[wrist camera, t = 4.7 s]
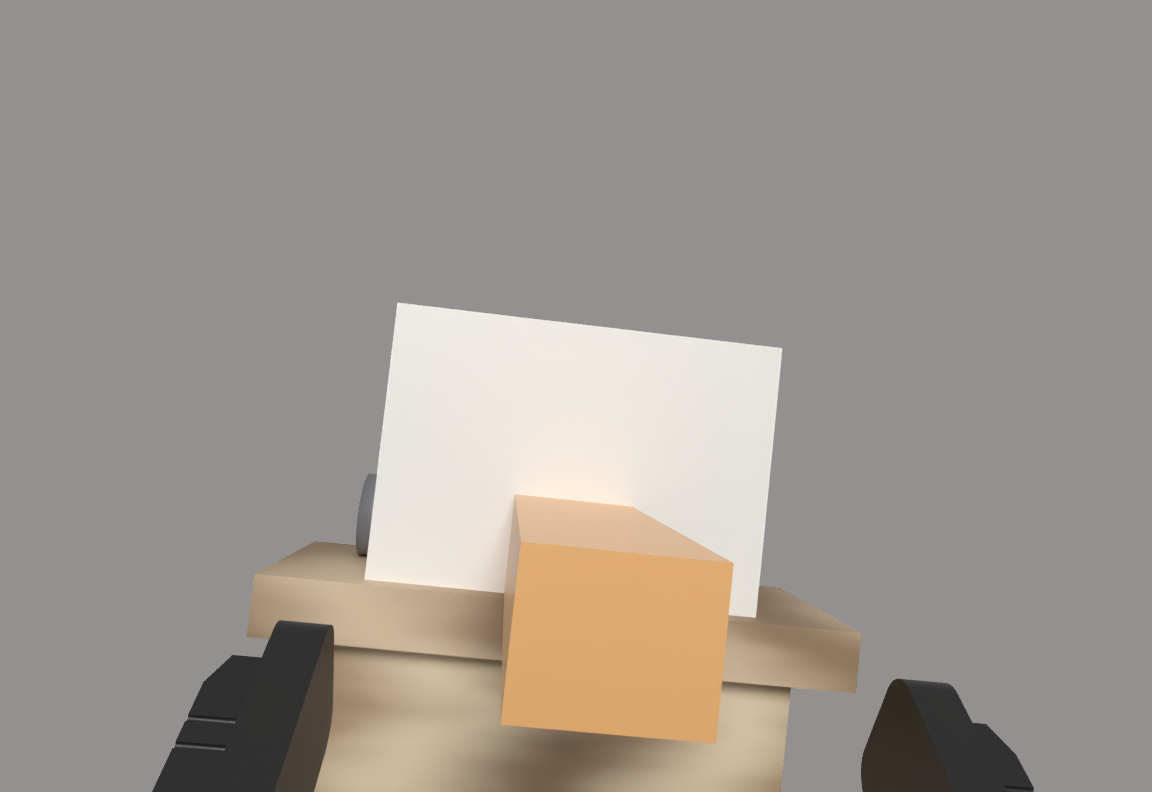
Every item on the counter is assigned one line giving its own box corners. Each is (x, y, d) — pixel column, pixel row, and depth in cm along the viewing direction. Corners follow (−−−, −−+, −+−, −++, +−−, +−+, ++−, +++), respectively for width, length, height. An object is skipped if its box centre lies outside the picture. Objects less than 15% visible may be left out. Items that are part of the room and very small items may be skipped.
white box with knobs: (734, 586, 29) (756, 367, 30) (1013, 770, 13) (1053, 283, 13) (365, 549, 29) (392, 325, 29) (179, 696, 12) (246, 182, 13)
